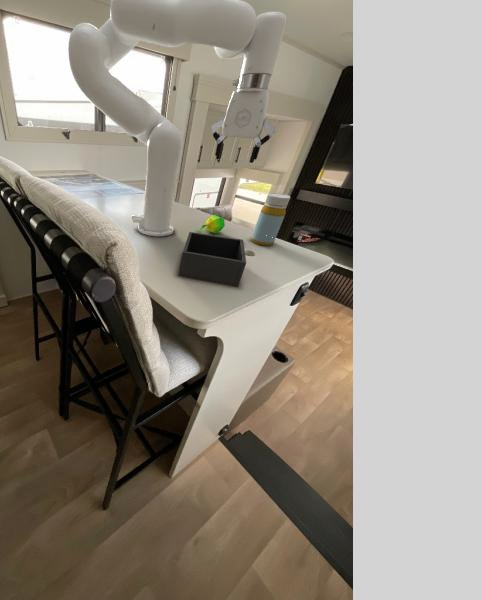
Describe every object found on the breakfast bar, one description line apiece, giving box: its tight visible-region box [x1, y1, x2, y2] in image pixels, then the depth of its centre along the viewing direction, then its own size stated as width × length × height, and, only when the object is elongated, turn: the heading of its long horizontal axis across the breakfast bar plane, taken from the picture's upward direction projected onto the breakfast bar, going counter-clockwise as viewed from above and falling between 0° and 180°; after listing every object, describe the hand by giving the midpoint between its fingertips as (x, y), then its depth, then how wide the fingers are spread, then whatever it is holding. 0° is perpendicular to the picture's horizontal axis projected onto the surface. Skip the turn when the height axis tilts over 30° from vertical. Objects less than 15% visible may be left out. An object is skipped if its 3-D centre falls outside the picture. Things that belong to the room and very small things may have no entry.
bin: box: [177, 231, 247, 288], centre depth 66 cm, size 15×15×7 cm
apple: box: [198, 214, 226, 235], centre depth 89 cm, size 7×6×9 cm
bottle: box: [251, 192, 291, 247], centre depth 80 cm, size 7×7×15 cm
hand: (234, 160), depth 75 cm, fingers open, 9 cm apart
